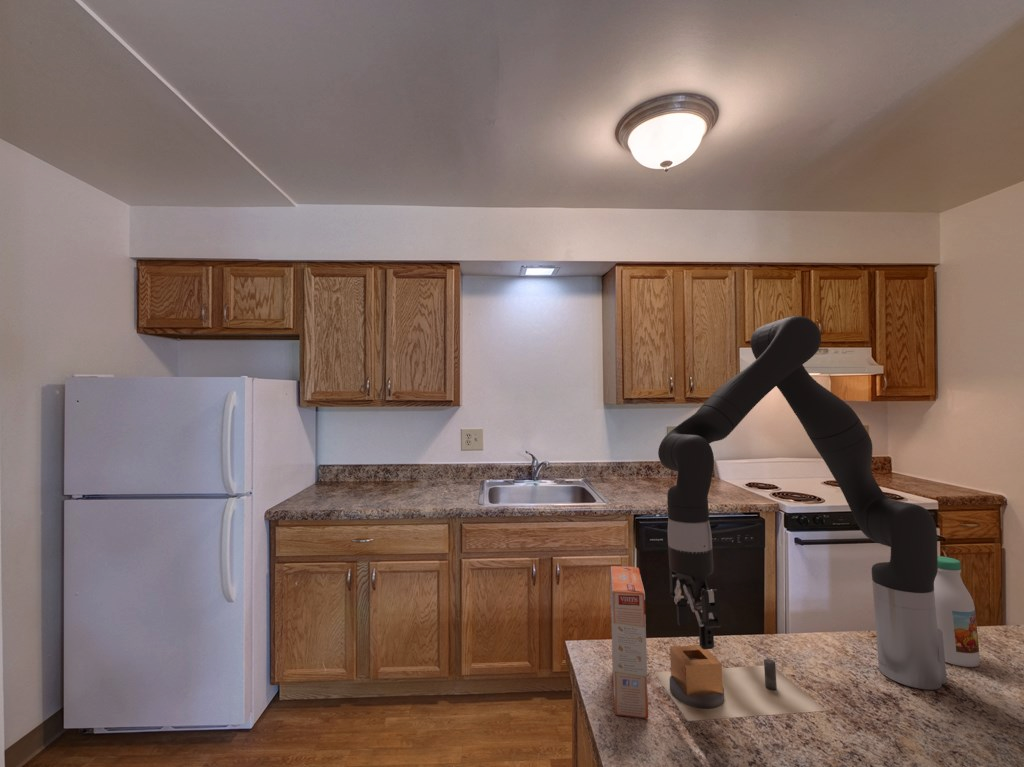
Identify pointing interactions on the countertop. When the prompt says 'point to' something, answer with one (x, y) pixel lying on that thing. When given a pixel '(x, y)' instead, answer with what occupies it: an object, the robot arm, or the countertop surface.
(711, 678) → the hollow wooden cube
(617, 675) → the cracker box
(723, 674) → the board
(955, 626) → the milk bottle
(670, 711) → the countertop surface
